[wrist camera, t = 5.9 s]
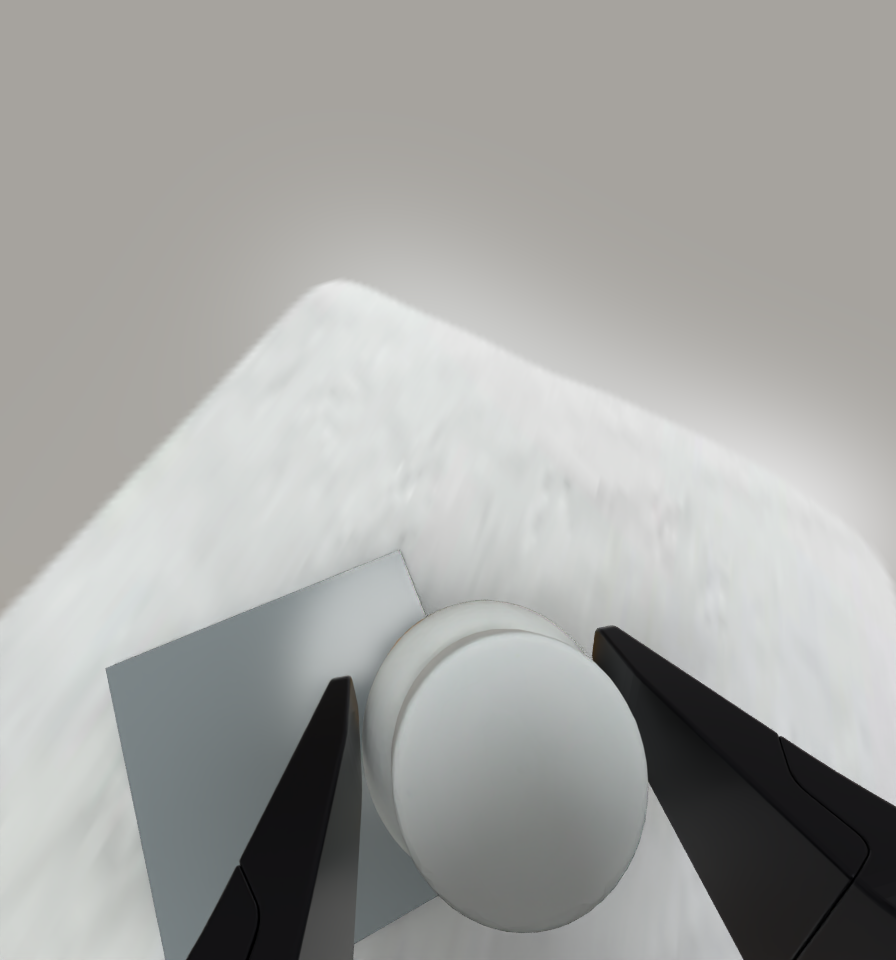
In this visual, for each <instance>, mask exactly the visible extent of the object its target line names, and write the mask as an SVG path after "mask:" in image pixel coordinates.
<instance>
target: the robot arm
mask: <svg viewBox="0 0 896 960" xmlns="http://www.w3.org/2000/svg"><path fill="white" fill-rule="evenodd" d="M592 657H593V661H594V662H595V663H596V664H597V665H598V666H599V667H600V668H601V669H602V670H603V671H604V672H605V673H606V674H607V675H608V676H609V677H610V679H611V680H612V681H613V683H614V684H615V686H616V687H617V688H618V690H619V691H620V693H621V694H622V696H623V698H624V699H625V701H626V703H627V705H628V707H629V709H630V711H631V713H632V715H633V717H634V719H635V721H636V723H637V726H638V730H639V733H640V736H641V739H642V743H643V747H644V752H645V757H646V762H647V773H648V782H649V784H650V786H651V787H652V789H653V791H654V793H655V795H656V797H657V799H658V800H659V802H660V804H661V806H662V808H663V810H664V812H665V814H666V815H667V817H668V819H669V821H670V823H671V825H672V827H673V829H674V830H675V832H676V834H677V836H678V838H679V840H680V842H681V844H682V845H683V847H684V849H685V851H686V853H687V855H688V857H689V859H690V860H691V862H692V864H693V866H694V868H695V870H696V872H697V874H698V875H699V877H700V879H701V881H702V883H703V885H704V887H705V888H706V890H707V892H708V894H709V896H710V898H711V900H712V902H713V903H714V905H715V907H716V909H717V911H718V913H719V915H720V917H721V918H722V920H723V922H724V924H725V926H726V928H727V930H728V932H729V933H730V935H731V937H732V939H733V941H734V943H735V945H736V947H737V948H738V950H739V952H740V954H741V956H742V958H743V960H896V806H894V805H892V804H890V803H889V802H887V801H885V800H884V799H882V798H880V797H878V796H877V795H875V794H873V793H871V792H870V791H868V790H866V789H865V788H863V787H861V786H860V785H858V784H856V783H855V782H853V781H851V780H850V779H848V778H846V777H845V776H843V775H841V774H840V773H838V772H836V771H835V770H833V769H832V768H830V767H828V766H827V765H825V764H824V763H822V762H821V761H819V760H818V759H816V758H814V757H813V756H811V755H810V754H808V753H807V752H805V751H803V750H802V749H800V748H799V747H797V746H796V745H794V744H793V743H791V742H790V741H788V740H787V739H785V738H784V737H782V736H778V734H777V733H776V732H775V731H773V730H772V729H770V728H769V727H767V726H766V725H764V724H763V723H761V722H760V721H758V720H757V719H755V718H753V717H752V716H750V715H749V714H747V713H746V712H744V711H743V710H741V709H740V708H738V707H737V706H735V705H734V704H732V703H731V702H729V701H728V700H726V699H725V698H723V697H722V696H720V695H719V694H717V693H716V692H714V691H713V690H711V689H710V688H708V687H707V686H705V685H704V684H702V683H701V682H699V681H698V680H696V679H695V678H693V677H692V676H690V675H689V674H687V673H686V672H684V671H683V670H681V669H680V668H678V667H677V666H675V665H674V664H672V663H671V662H669V661H668V660H666V659H665V658H663V657H662V656H660V655H659V654H657V653H656V652H654V651H653V650H651V649H650V648H648V647H647V646H645V645H644V644H642V643H641V642H639V641H637V640H636V639H634V638H633V637H631V636H630V635H628V634H627V633H625V632H624V631H622V630H621V629H619V628H618V627H616V626H606V627H601V628H597V630H596V631H595V636H594V644H593V652H592ZM361 808H362V770H361V751H360V731H359V712H358V703H357V698H356V694H355V689H354V685H353V680H352V677H351V676H349V675H346V676H341V677H336V678H332V679H331V680H330V682H329V683H328V685H327V687H326V689H325V691H324V693H323V695H322V697H321V699H320V701H319V703H318V705H317V707H316V709H315V711H314V713H313V715H312V717H311V719H310V721H309V723H308V725H307V727H306V729H305V731H304V733H303V735H302V737H301V739H300V741H299V743H298V745H297V747H296V749H295V751H294V753H293V754H292V756H291V758H290V760H289V762H288V764H287V766H286V768H285V770H284V772H283V774H282V776H281V778H280V780H279V782H278V784H277V786H276V788H275V790H274V792H273V794H272V796H271V798H270V800H269V802H268V804H267V806H266V808H265V810H264V812H263V814H262V816H261V818H260V820H259V822H258V824H257V826H256V828H255V830H254V832H253V834H252V836H251V838H250V840H249V842H248V844H247V846H246V848H245V850H244V851H243V853H242V855H241V857H240V859H239V864H240V865H237V866H236V867H235V869H234V871H233V873H232V875H231V877H230V879H229V881H228V883H227V885H226V887H225V889H224V891H223V893H222V895H221V896H220V898H219V900H218V902H217V904H216V906H215V908H214V910H213V911H212V913H211V915H210V917H209V919H208V921H207V923H206V925H205V927H204V928H203V930H202V932H201V934H200V936H199V937H198V939H197V941H196V943H195V944H194V946H193V948H192V949H191V951H190V953H189V955H188V956H187V958H186V960H353V951H354V933H355V915H356V897H357V879H358V862H359V844H360V826H361Z"/></svg>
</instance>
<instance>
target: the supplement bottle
mask: <svg viewBox="0 0 896 960" xmlns="http://www.w3.org/2000/svg"><path fill="white" fill-rule="evenodd" d="M362 753H363V764H364V770H365V776H366V780H367V784H368V787H369V790H370V794H371V797H372V800H373V802H374V805H375V807H376V810H377V812H378V814H379V816H380V817H381V819H382V821H383V823H384V825H385V826H386V828H387V829H388V831H389V832H390V834H391V835H392V837H393V838H394V839H395V841H396V842H397V843H398V844H399V845H400V847H401V848H402V849H403V850H404V851H405V852H406V853H407V854H408V855H409V856H410V857H411V858H412V860H413V862H414V864H415V865H416V867H417V869H418V871H419V872H420V873H421V875H422V876H423V878H424V879H425V880H426V882H427V883H428V884H429V886H430V887H431V888H432V889H433V890H434V891H435V892H436V893H437V894H438V895H439V896H440V897H441V898H442V899H443V900H444V901H445V902H446V903H448V904H449V905H450V906H451V907H452V908H453V909H455V910H456V911H458V912H459V913H461V914H462V915H464V916H465V917H467V918H469V919H471V920H473V921H476V922H478V923H480V924H482V925H485V926H488V927H491V928H494V929H498V930H502V931H506V932H518V933H532V932H541V931H546V930H551V929H555V928H559V927H562V926H564V925H567V924H569V923H571V922H573V921H575V920H577V919H579V918H580V917H582V916H583V915H585V914H587V913H588V912H590V911H591V910H592V909H593V908H594V907H595V906H597V905H598V904H599V903H600V902H602V901H603V900H604V898H605V897H606V896H607V895H608V894H609V893H610V892H611V891H612V890H613V889H614V888H615V887H616V885H617V883H618V882H619V880H620V879H621V877H622V876H623V874H624V873H625V871H626V870H627V868H628V866H629V864H630V862H631V860H632V858H633V856H634V854H635V851H636V849H637V847H638V844H639V841H640V838H641V834H642V830H643V826H644V822H645V817H646V809H647V802H648V773H647V762H646V757H645V752H644V747H643V743H642V739H641V736H640V733H639V730H638V726H637V723H636V721H635V719H634V717H633V715H632V713H631V711H630V709H629V707H628V705H627V703H626V701H625V699H624V698H623V696H622V694H621V693H620V691H619V690H618V688H617V687H616V686H615V684H614V683H613V681H612V680H611V679H610V677H609V676H608V675H607V674H606V673H605V672H604V671H603V670H602V669H601V668H600V667H599V666H598V665H597V664H596V663H595V662H594V661H592V660H591V659H590V658H588V657H587V656H586V655H585V654H584V653H583V651H582V650H581V649H580V647H579V646H578V645H577V644H576V643H575V642H574V640H573V639H572V638H571V637H570V636H569V635H567V634H566V633H565V632H564V631H563V630H562V629H561V628H559V627H558V626H557V625H556V624H554V623H553V622H551V621H550V620H549V619H547V618H545V617H543V616H542V615H540V614H538V613H536V612H534V611H532V610H530V609H527V608H524V607H521V606H519V605H515V604H511V603H506V602H499V601H491V600H477V601H470V602H464V603H459V604H456V605H452V606H449V607H447V608H444V609H441V610H439V611H437V612H435V613H433V614H431V615H429V616H427V617H426V618H424V619H422V620H421V621H419V622H417V623H416V624H415V625H414V626H412V627H411V628H410V629H409V630H408V631H407V632H406V633H405V634H404V635H403V636H402V637H401V638H400V639H399V640H398V641H397V642H396V644H395V645H394V647H393V648H392V649H391V650H390V652H389V653H388V655H387V656H386V658H385V660H384V662H383V663H382V665H381V667H380V669H379V671H378V673H377V675H376V677H375V679H374V682H373V684H372V687H371V690H370V693H369V696H368V700H367V704H366V709H365V713H364V720H363V729H362Z"/></svg>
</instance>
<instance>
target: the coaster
mask: <svg viewBox="0 0 896 960" xmlns="http://www.w3.org/2000/svg"><path fill="white" fill-rule="evenodd" d="M424 618H426V616H425V613H424V610H423V608H422V605H421V603H420V600H419V598H418V595H417V593H416V590H415V588H414V585H413V582H412V580H411V577H410V575H409V572H408V570H407V567H406V565H405V562H404V560H403V557H402V554H401V552H400V550H397V551H395V552H393V553H390V554H388V555H385V556H383V557H380V558H378V559H375V560H373V561H370V562H368V563H365V564H363V565H360V566H358V567H355V568H353V569H350V570H348V571H345V572H343V573H341V574H338V575H336V576H333V577H331V578H328V579H326V580H323V581H321V582H318V583H316V584H313V585H311V586H308V587H306V588H303V589H301V590H298V591H296V592H293V593H291V594H289V595H286V596H284V597H281V598H279V599H276V600H274V601H271V602H269V603H266V604H264V605H261V606H259V607H256V608H254V609H251V610H249V611H246V612H244V613H242V614H239V615H237V616H234V617H232V618H229V619H227V620H224V621H222V622H219V623H217V624H214V625H212V626H209V627H207V628H204V629H202V630H199V631H197V632H194V633H192V634H190V635H187V636H185V637H182V638H180V639H177V640H175V641H172V642H170V643H167V644H165V645H162V646H160V647H157V648H155V649H152V650H150V651H147V652H145V653H142V654H140V655H138V656H135V657H133V658H130V659H128V660H125V661H123V662H120V663H118V664H115V665H113V666H110V667H108V668H106V673H107V678H108V683H109V688H110V693H111V697H112V702H113V707H114V712H115V717H116V722H117V727H118V731H119V736H120V741H121V746H122V751H123V756H124V761H125V766H126V770H127V775H128V780H129V785H130V790H131V795H132V800H133V805H134V809H135V814H136V819H137V824H138V829H139V834H140V839H141V843H142V848H143V853H144V858H145V863H146V868H147V873H148V878H149V882H150V887H151V892H152V897H153V902H154V907H155V912H156V917H157V921H158V926H159V931H160V936H161V941H162V946H163V951H164V955H165V960H186V958H187V956H188V955H189V953H190V951H191V949H192V948H193V946H194V944H195V943H196V941H197V939H198V937H199V936H200V934H201V932H202V930H203V928H204V927H205V925H206V923H207V921H208V919H209V917H210V915H211V913H212V911H213V910H214V908H215V906H216V904H217V902H218V900H219V898H220V896H221V895H222V893H223V891H224V889H225V887H226V885H227V883H228V881H229V879H230V877H231V875H232V873H233V871H234V869H235V867H236V866H237V865H240V864H239V859H240V857H241V855H242V853H243V851H244V850H245V848H246V846H247V844H248V842H249V840H250V838H251V836H252V834H253V832H254V830H255V828H256V826H257V824H258V822H259V820H260V818H261V816H262V814H263V812H264V810H265V808H266V806H267V804H268V802H269V800H270V798H271V796H272V794H273V792H274V790H275V788H276V786H277V784H278V782H279V780H280V778H281V776H282V774H283V772H284V770H285V768H286V766H287V764H288V762H289V760H290V758H291V756H292V754H293V753H294V751H295V749H296V747H297V745H298V743H299V741H300V739H301V737H302V735H303V733H304V731H305V729H306V727H307V725H308V723H309V721H310V719H311V717H312V715H313V713H314V711H315V709H316V707H317V705H318V703H319V701H320V699H321V697H322V695H323V693H324V691H325V689H326V687H327V685H328V683H329V682H330V680H331V679H332V678H336V677H341V676H346V675H349V676H351V677H352V680H353V685H354V689H355V694H356V698H357V703H358V712H359V731H360V751H361V770H362V808H361V826H360V844H359V862H358V879H357V897H356V915H355V933H354V944H355V943H357V942H358V941H360V940H362V939H364V938H365V937H367V936H369V935H370V934H372V933H374V932H376V931H377V930H379V929H381V928H383V927H384V926H386V925H388V924H389V923H391V922H393V921H395V920H396V919H398V918H400V917H402V916H403V915H405V914H407V913H408V912H410V911H412V910H414V909H415V908H417V907H419V906H421V905H422V904H424V903H426V902H428V901H429V900H431V899H433V898H434V897H436V896H438V894H437V893H436V892H435V891H434V890H433V889H432V888H431V887H430V886H429V884H428V883H427V882H426V880H425V879H424V878H423V876H422V875H421V873H420V872H419V871H418V869H417V867H416V865H415V864H414V862H413V860H412V858H411V857H410V856H409V855H408V854H407V853H406V852H405V851H404V850H403V849H402V848H401V847H400V845H399V844H398V843H397V842H396V841H395V839H394V838H393V837H392V835H391V834H390V832H389V831H388V829H387V828H386V826H385V825H384V823H383V821H382V819H381V817H380V816H379V814H378V812H377V810H376V807H375V805H374V802H373V800H372V797H371V794H370V790H369V787H368V784H367V780H366V776H365V770H364V764H363V753H362V729H363V720H364V713H365V709H366V704H367V700H368V696H369V693H370V690H371V687H372V684H373V682H374V679H375V677H376V675H377V673H378V671H379V669H380V667H381V665H382V663H383V662H384V660H385V658H386V656H387V655H388V653H389V652H390V650H391V649H392V648H393V647H394V645H395V644H396V642H397V641H398V640H399V639H400V638H401V637H402V636H403V635H404V634H405V633H406V632H407V631H408V630H409V629H410V628H411V627H412V626H414V625H415V624H416V623H417V622H419V621H421V620H422V619H424Z"/></svg>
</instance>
